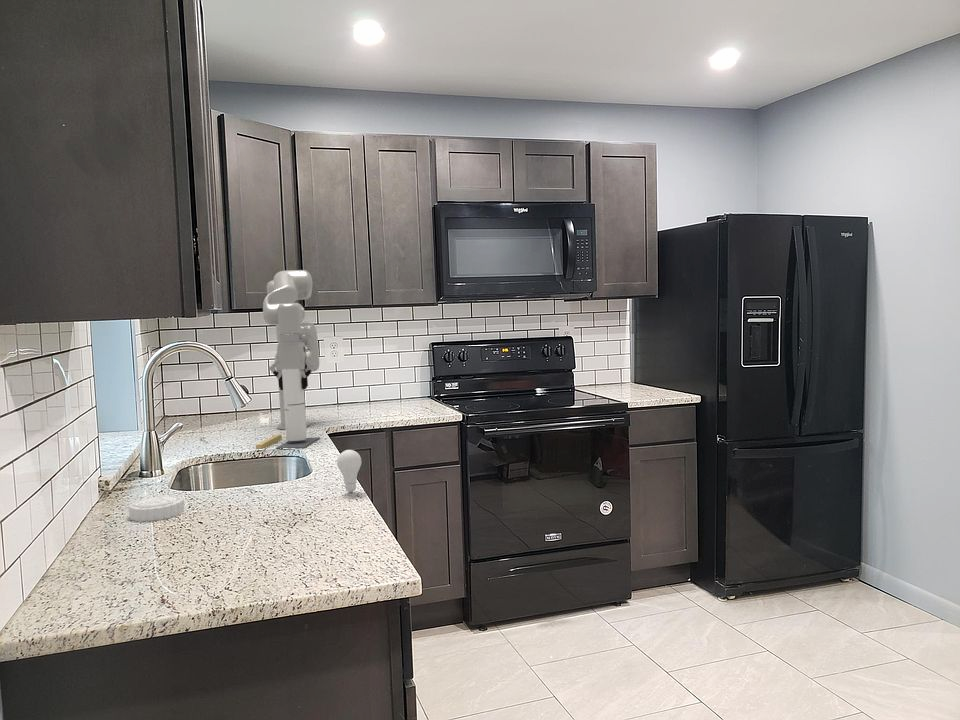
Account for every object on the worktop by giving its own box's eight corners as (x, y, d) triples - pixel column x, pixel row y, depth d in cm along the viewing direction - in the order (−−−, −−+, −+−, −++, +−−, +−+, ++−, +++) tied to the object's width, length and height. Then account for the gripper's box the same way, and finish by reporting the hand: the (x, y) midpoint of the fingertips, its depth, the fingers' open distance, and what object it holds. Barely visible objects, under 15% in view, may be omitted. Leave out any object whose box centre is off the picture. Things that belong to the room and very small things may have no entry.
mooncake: (121, 516, 173) (120, 502, 173) (171, 505, 182) (170, 491, 181) (142, 525, 165) (140, 510, 164) (193, 513, 173) (192, 498, 173)
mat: (293, 439, 267) (292, 438, 267) (319, 439, 266) (319, 437, 266) (275, 449, 249) (275, 447, 249) (304, 448, 248) (304, 447, 248)
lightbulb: (335, 495, 183) (332, 452, 182) (343, 489, 189) (340, 447, 188) (359, 495, 182) (356, 452, 181) (366, 489, 188) (363, 447, 187)
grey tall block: (301, 440, 253) (297, 369, 251) (282, 440, 255) (278, 369, 253) (310, 436, 260) (306, 367, 258) (291, 437, 262) (287, 367, 260)
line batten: (276, 439, 268) (276, 434, 268) (281, 439, 268) (281, 434, 268) (256, 450, 248) (255, 445, 248) (261, 450, 248) (261, 444, 248)
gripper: (317, 337, 258) (320, 387, 259) (270, 339, 259) (273, 388, 261) (311, 338, 250) (314, 389, 252) (262, 340, 252) (265, 391, 253)
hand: (293, 388), depth 256 cm, fingers closed on grey tall block, 7 cm apart
